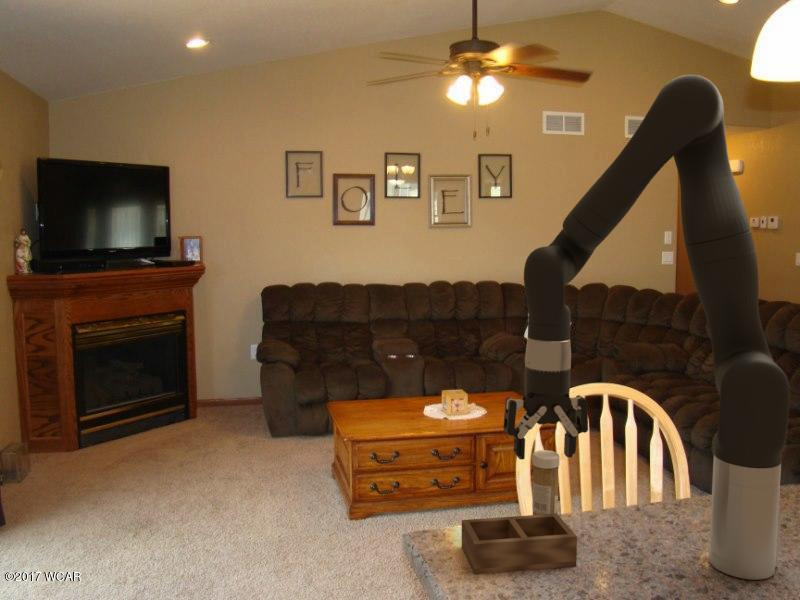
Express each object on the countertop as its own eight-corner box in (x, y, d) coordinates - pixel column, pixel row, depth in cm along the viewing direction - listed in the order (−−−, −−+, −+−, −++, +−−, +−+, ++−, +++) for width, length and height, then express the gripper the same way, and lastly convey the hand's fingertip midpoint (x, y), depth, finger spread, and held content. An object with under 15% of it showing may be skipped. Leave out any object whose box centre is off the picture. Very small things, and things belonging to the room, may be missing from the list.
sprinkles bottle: (563, 529, 122) (565, 454, 120) (544, 536, 120) (545, 459, 118) (544, 520, 126) (545, 447, 124) (525, 526, 123) (526, 452, 122)
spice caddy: (556, 541, 118) (556, 513, 117) (576, 566, 109) (577, 536, 109) (461, 548, 116) (461, 520, 115) (474, 574, 107) (474, 544, 107)
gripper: (513, 370, 114) (511, 466, 116) (597, 368, 116) (593, 462, 118) (500, 360, 122) (498, 451, 124) (579, 358, 124) (575, 448, 126)
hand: (544, 457), depth 121 cm, fingers open, 8 cm apart
